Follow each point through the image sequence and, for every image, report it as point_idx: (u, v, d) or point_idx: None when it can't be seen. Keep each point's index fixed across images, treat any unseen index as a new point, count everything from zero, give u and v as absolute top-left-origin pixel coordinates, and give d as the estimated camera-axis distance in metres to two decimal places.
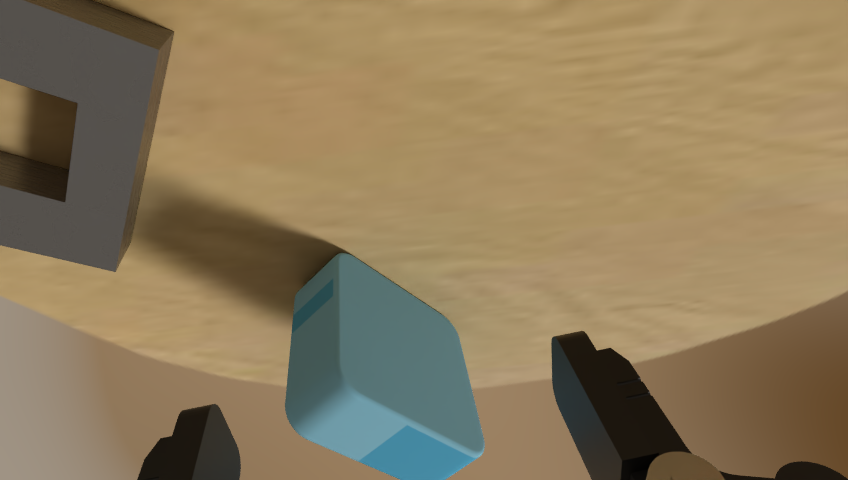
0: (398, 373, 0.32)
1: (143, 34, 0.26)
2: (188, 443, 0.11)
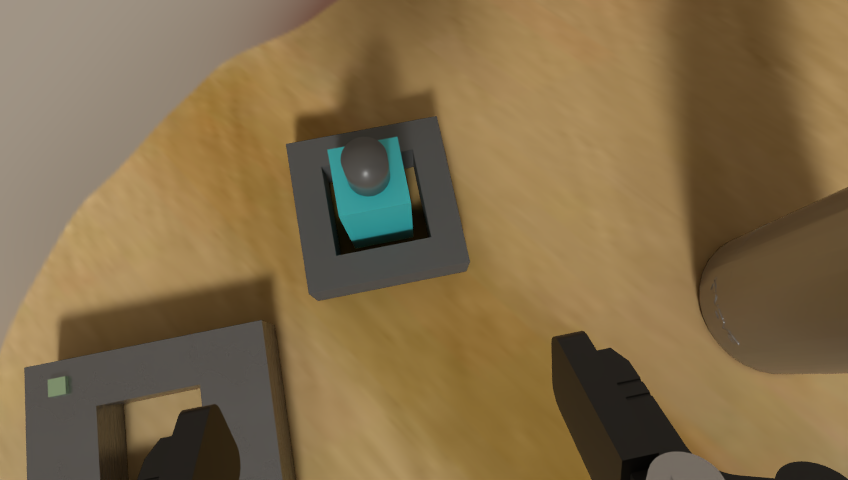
0: None
1: None
2: (188, 443, 0.11)
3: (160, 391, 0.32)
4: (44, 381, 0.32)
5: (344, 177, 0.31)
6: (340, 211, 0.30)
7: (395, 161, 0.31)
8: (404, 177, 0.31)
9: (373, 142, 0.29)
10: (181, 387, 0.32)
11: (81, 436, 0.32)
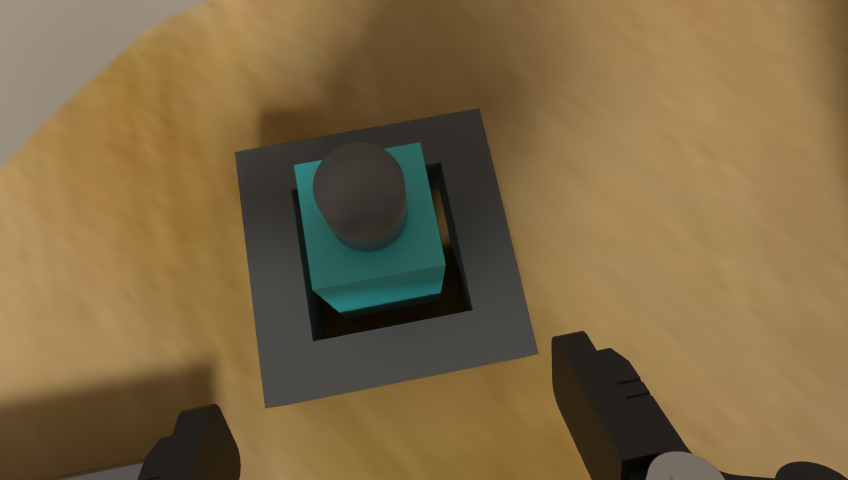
0: None
1: None
2: (188, 443, 0.11)
3: None
4: None
5: (324, 216, 0.17)
6: (315, 280, 0.16)
7: (417, 187, 0.17)
8: (433, 216, 0.17)
9: (377, 154, 0.15)
10: None
11: None
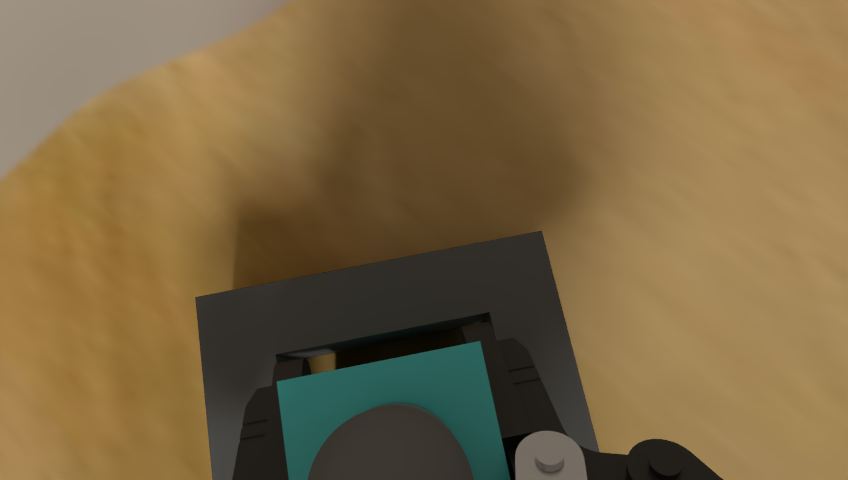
0: None
1: None
2: None
3: None
4: None
5: None
6: None
7: (478, 420, 0.10)
8: (505, 475, 0.10)
9: (424, 430, 0.08)
10: None
11: None
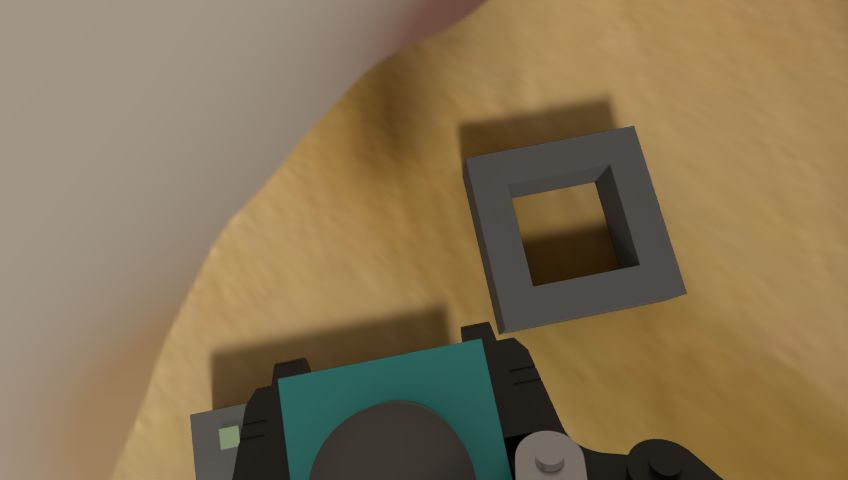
0: None
1: None
2: None
3: None
4: (213, 430, 0.29)
5: None
6: None
7: (479, 418, 0.10)
8: (507, 473, 0.10)
9: (425, 427, 0.08)
10: None
11: None
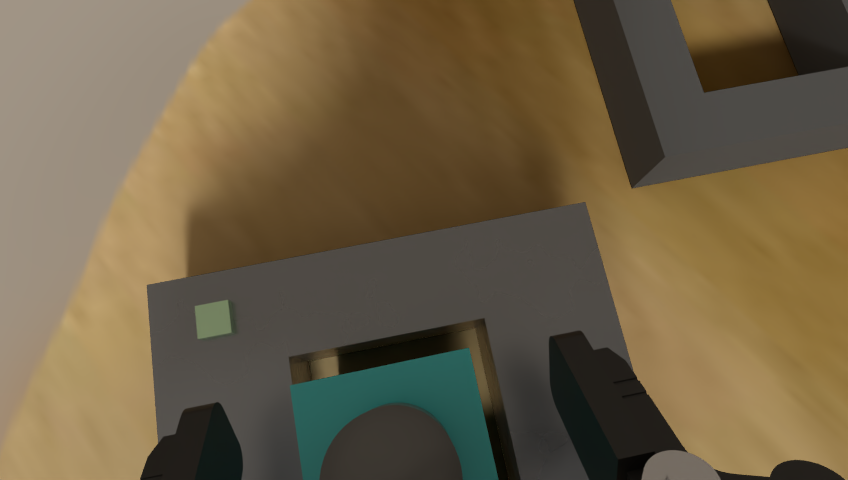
0: None
1: None
2: (191, 441, 0.11)
3: (409, 330, 0.17)
4: (186, 310, 0.17)
5: None
6: None
7: (467, 418, 0.12)
8: (491, 466, 0.12)
9: (418, 427, 0.09)
10: (449, 323, 0.17)
11: (264, 416, 0.16)
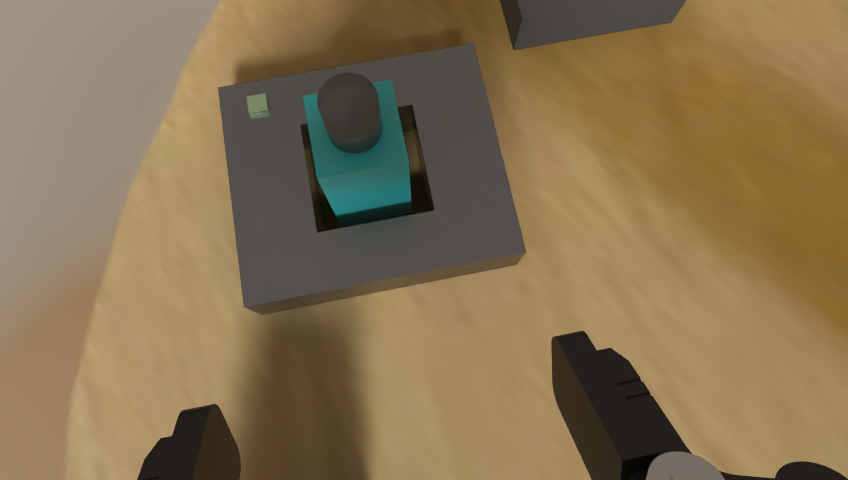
0: None
1: None
2: (188, 443, 0.11)
3: None
4: (241, 100, 0.30)
5: (324, 130, 0.24)
6: (319, 172, 0.24)
7: (389, 109, 0.25)
8: (400, 129, 0.24)
9: (359, 79, 0.22)
10: None
11: (287, 154, 0.29)
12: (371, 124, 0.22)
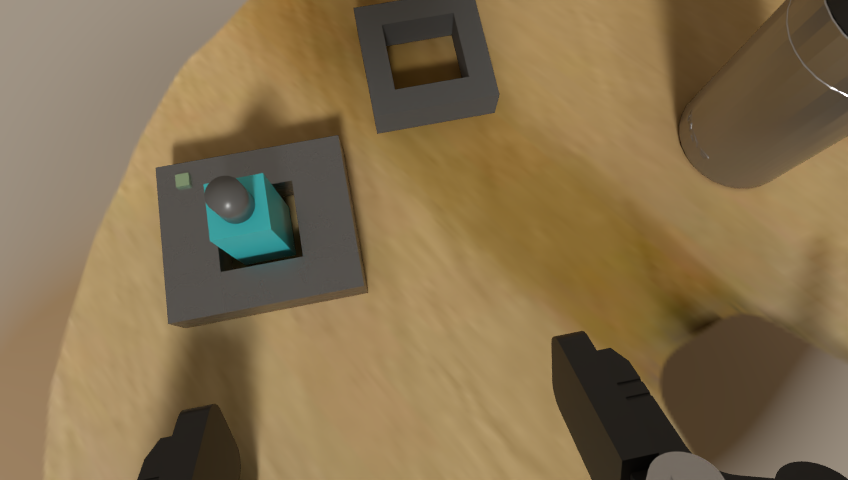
0: None
1: (363, 275, 0.41)
2: (188, 443, 0.11)
3: None
4: (171, 177, 0.42)
5: None
6: (211, 236, 0.36)
7: (260, 194, 0.37)
8: (266, 207, 0.37)
9: (232, 180, 0.34)
10: (277, 182, 0.42)
11: (202, 216, 0.41)
12: (240, 208, 0.35)
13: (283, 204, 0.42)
